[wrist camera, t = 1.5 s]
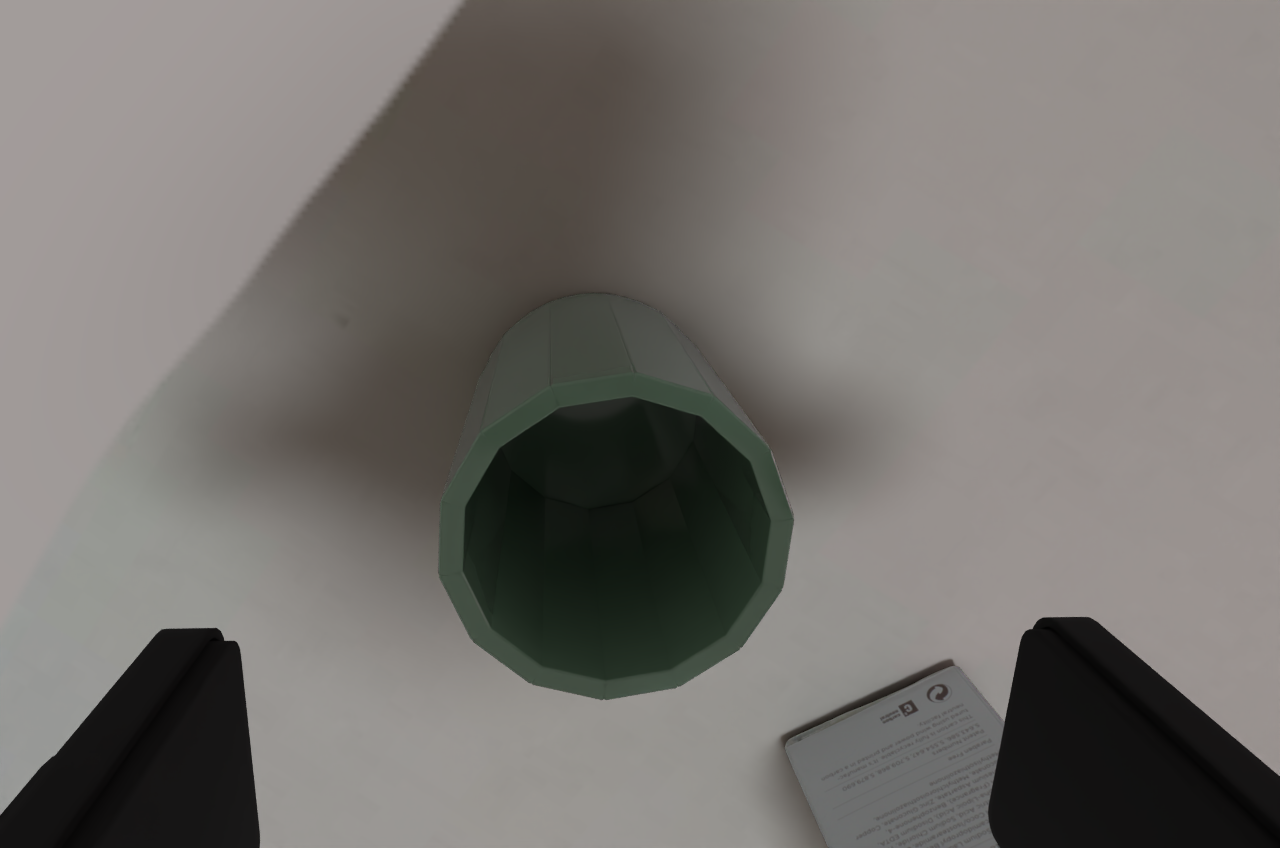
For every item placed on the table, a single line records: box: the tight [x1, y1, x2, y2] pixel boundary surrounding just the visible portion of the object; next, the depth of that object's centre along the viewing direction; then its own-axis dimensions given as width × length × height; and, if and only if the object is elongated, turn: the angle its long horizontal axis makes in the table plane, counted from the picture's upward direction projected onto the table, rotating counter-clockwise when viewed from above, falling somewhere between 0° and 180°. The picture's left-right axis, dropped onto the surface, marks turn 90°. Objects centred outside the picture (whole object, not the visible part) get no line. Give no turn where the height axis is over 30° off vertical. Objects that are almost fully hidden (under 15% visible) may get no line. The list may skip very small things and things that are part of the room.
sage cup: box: [438, 293, 794, 700], centre depth 18 cm, size 6×6×8 cm
